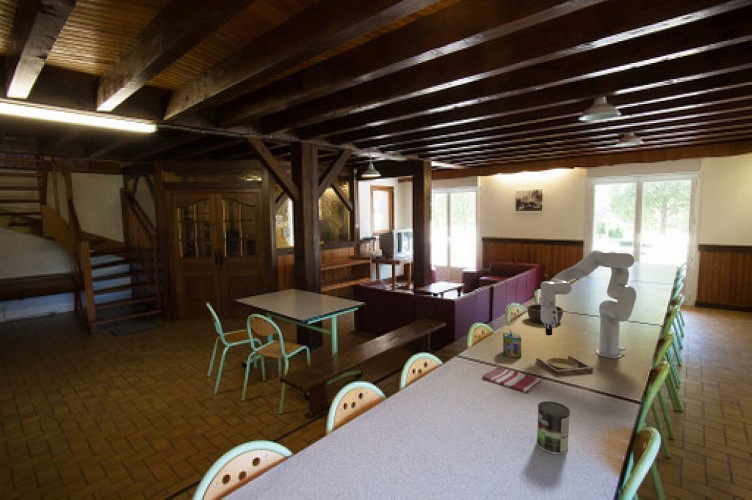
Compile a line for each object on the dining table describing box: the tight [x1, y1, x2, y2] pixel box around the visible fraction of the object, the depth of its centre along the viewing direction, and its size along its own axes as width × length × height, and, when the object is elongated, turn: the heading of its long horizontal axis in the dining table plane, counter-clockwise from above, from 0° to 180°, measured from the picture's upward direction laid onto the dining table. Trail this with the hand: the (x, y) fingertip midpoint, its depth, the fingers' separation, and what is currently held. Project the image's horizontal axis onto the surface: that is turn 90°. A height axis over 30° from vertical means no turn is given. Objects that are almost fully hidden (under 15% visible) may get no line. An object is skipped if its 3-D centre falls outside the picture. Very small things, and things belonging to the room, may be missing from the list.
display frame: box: [535, 354, 594, 377], centre depth 206 cm, size 21×18×2 cm
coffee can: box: [536, 400, 571, 455], centre depth 137 cm, size 10×10×14 cm
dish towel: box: [482, 365, 543, 394], centre depth 191 cm, size 17×23×3 cm
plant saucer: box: [546, 357, 579, 370], centre depth 206 cm, size 15×15×3 cm
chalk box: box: [502, 329, 522, 358], centre depth 225 cm, size 9×9×15 cm
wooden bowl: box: [526, 303, 564, 325], centre depth 292 cm, size 25×25×10 cm
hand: (548, 334), depth 219 cm, fingers closed
